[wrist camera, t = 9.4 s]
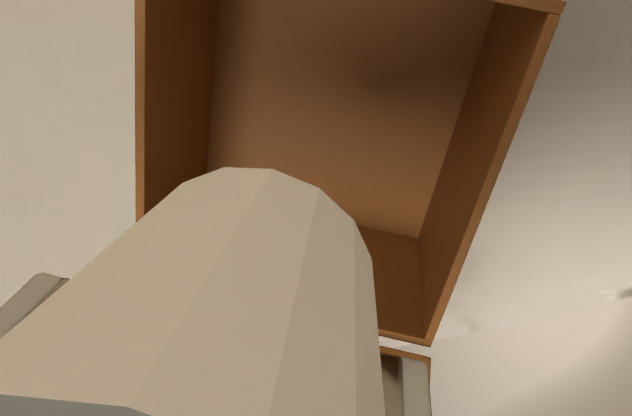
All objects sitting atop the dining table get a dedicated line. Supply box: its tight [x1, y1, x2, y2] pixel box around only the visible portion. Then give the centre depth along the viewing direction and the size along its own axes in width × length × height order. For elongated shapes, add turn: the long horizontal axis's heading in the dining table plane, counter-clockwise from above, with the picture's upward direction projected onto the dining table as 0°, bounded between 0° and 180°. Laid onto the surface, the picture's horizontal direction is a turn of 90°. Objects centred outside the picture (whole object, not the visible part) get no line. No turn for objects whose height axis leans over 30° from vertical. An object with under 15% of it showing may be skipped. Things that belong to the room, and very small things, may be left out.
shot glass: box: [0, 167, 385, 416], centre depth 9 cm, size 7×7×7 cm
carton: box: [135, 0, 566, 347], centre depth 23 cm, size 14×15×9 cm
